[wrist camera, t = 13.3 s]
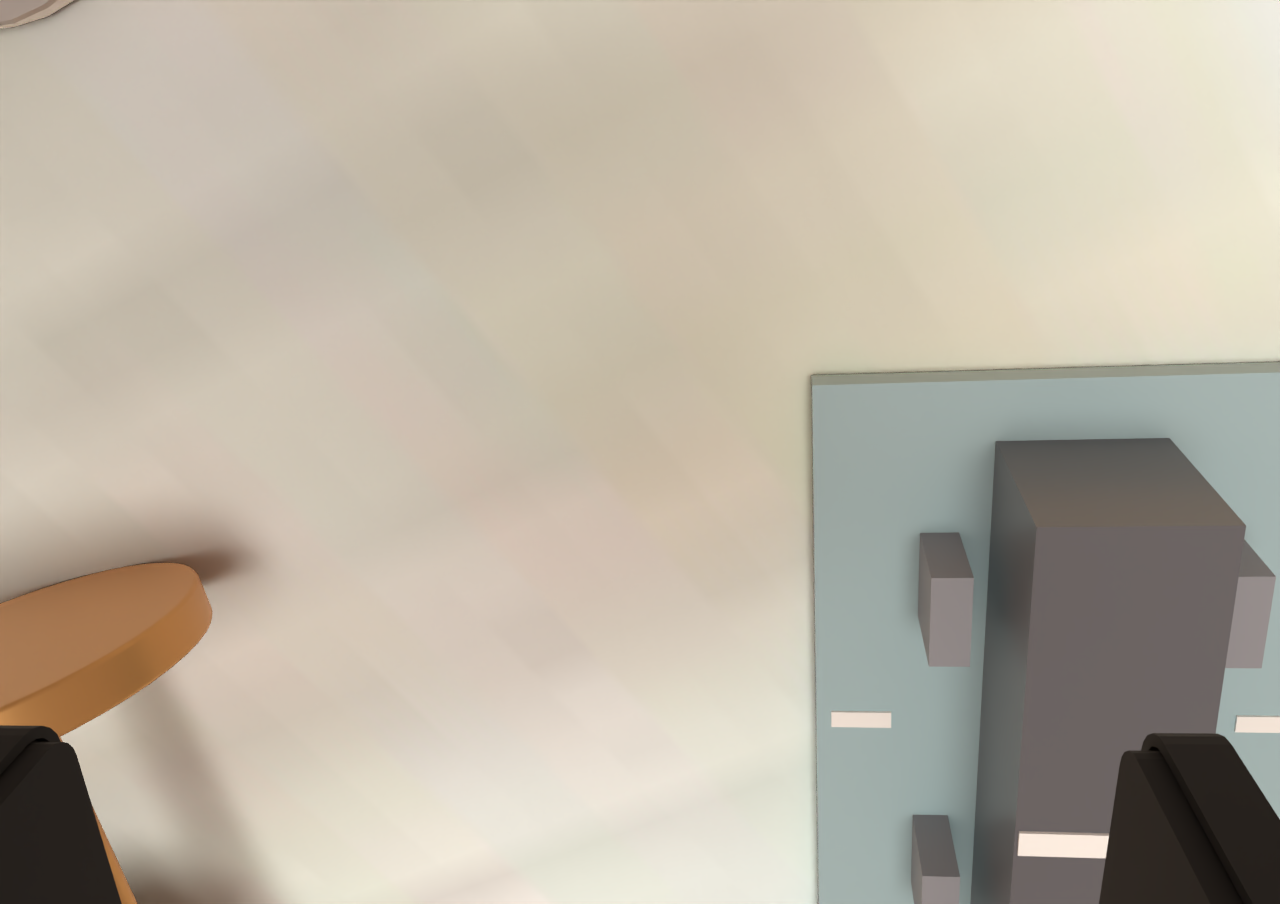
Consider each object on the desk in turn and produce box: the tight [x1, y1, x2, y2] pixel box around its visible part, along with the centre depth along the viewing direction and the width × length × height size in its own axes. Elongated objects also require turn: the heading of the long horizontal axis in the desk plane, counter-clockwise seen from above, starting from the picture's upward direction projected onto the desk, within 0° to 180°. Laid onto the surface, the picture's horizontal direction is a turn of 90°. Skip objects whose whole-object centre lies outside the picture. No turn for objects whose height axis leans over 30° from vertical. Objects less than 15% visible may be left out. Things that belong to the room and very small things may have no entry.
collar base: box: [812, 362, 1280, 904], centre depth 36 cm, size 16×24×4 cm, turn 4°
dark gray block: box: [970, 438, 1246, 904], centre depth 35 cm, size 20×5×6 cm, turn 4°
